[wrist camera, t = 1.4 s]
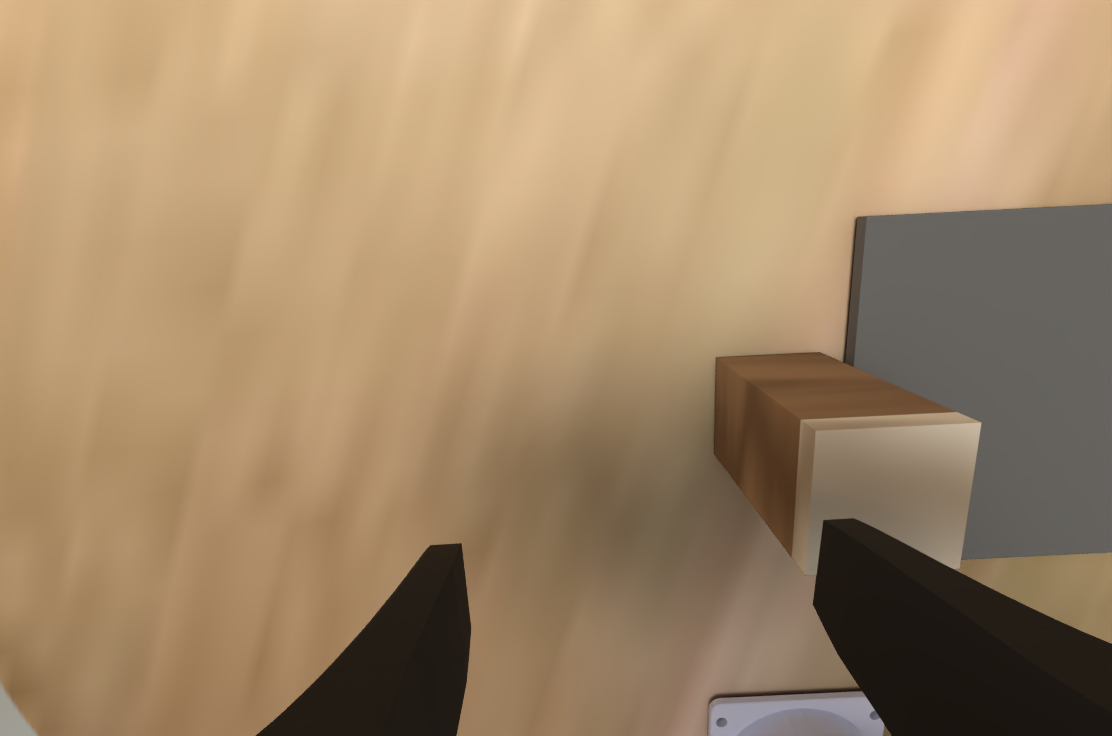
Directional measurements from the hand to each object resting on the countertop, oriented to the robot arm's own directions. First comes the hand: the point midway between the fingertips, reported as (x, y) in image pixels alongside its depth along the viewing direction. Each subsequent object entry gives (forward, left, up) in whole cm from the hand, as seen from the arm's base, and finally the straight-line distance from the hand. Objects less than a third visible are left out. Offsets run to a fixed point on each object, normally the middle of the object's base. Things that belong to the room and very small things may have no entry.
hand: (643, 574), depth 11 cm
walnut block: (0, -7, -11) cm, 13 cm away
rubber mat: (0, -18, -11) cm, 21 cm away
